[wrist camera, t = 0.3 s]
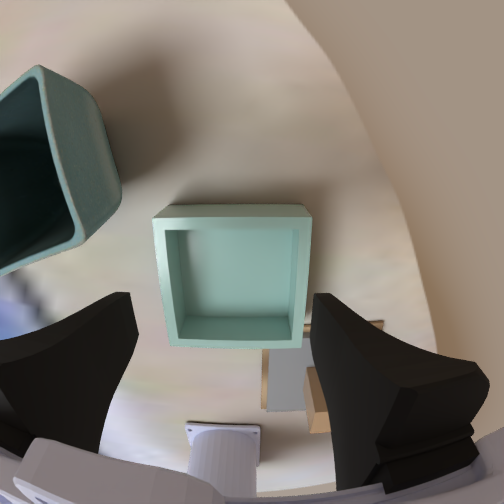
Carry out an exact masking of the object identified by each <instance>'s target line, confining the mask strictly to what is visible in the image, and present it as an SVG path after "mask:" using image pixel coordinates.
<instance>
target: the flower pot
mask: <svg viewBox="0 0 504 504" xmlns="http://www.w3.org/2000/svg"><path fill="white" fill-rule="evenodd" d="M121 199H122V187H121V182H120V178H119V175H118V172H117V169H116V165H115V162H114V159H113V156H112V152H111V149H110V145H109V141H108V138H107V134H106V130H105V126H104V123H103V119H102V116H101V113H100V110H99V108H98V105H97V103H96V102H95V100H94V98H93V97H92V96H91V95H90V93H89V92H88V91H87V90H85V89H84V88H83V87H81V86H80V85H78V84H76V83H74V82H73V81H71V80H69V79H67V78H65V77H63V76H61V75H59V74H57V73H55V72H53V71H51V70H49V69H47V68H45V67H43V66H41V65H35V66H34V67H32V68H31V69H29V70H28V71H27V72H25V73H24V74H23V75H22V76H21V77H20V78H18V79H17V80H16V81H15V82H13V83H12V84H11V85H10V86H9V87H8V88H6V89H5V90H4V91H3V92H2V93H1V94H0V277H1V276H3V275H6V274H8V273H10V272H12V271H15V270H17V269H19V268H22V267H24V266H27V265H29V264H31V263H34V262H37V261H39V260H42V259H45V258H47V257H50V256H53V255H56V254H58V253H61V252H64V251H67V250H70V249H73V248H76V247H78V246H80V245H82V244H83V243H85V242H86V241H87V239H88V238H89V237H91V236H92V235H93V234H94V233H95V232H96V231H97V230H98V229H99V228H100V227H101V226H102V225H103V224H104V223H105V222H106V221H107V220H108V219H109V218H110V217H111V216H112V215H113V214H114V213H115V212H116V210H117V209H118V207H119V205H120V203H121Z"/></svg>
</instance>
